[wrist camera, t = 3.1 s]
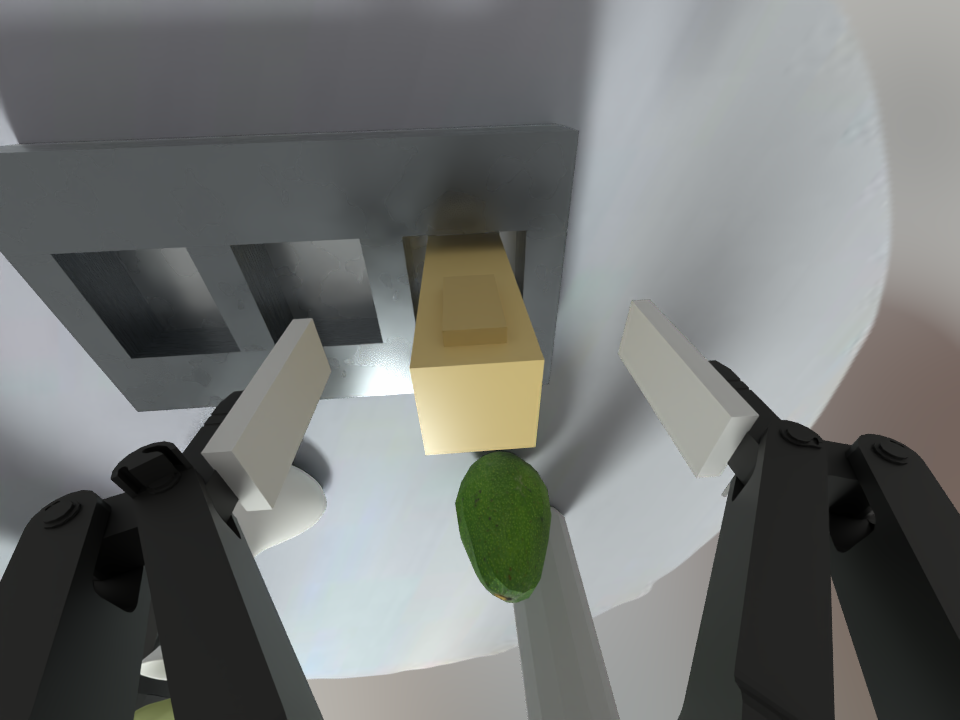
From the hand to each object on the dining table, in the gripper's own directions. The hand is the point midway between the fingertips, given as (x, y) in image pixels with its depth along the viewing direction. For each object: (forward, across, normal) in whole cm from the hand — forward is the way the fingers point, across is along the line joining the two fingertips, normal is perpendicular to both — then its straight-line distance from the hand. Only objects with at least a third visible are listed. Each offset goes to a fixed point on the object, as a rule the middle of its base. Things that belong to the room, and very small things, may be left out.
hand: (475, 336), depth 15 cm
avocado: (+9, +2, -20) cm, 22 cm away
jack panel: (+9, -8, 0) cm, 12 cm away
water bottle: (+9, +6, -32) cm, 34 cm away
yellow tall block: (+8, 0, 0) cm, 8 cm away
